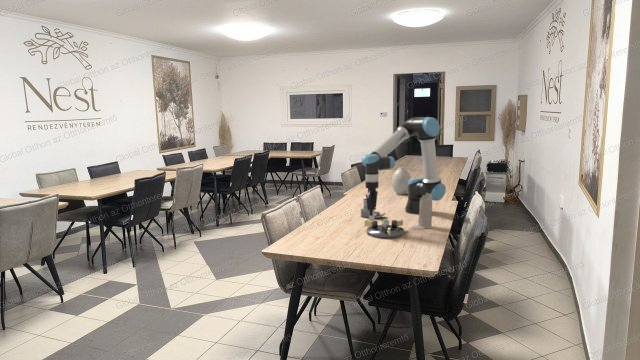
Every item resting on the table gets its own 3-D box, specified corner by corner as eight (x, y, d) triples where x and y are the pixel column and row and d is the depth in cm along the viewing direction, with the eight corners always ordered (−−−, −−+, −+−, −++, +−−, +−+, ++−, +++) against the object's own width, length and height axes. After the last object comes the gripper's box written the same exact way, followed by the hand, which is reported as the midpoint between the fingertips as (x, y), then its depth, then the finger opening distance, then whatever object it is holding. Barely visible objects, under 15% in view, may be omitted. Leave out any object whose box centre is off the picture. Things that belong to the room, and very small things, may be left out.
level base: (400, 227, 249) (400, 214, 248) (407, 238, 228) (408, 223, 227) (364, 228, 249) (364, 215, 247) (369, 239, 228) (369, 224, 227)
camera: (364, 197, 279) (385, 199, 272) (364, 214, 281) (385, 217, 274) (359, 200, 271) (381, 202, 265) (359, 217, 274) (381, 220, 267)
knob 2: (384, 231, 233) (384, 224, 233) (389, 231, 233) (389, 224, 233) (386, 235, 226) (386, 228, 225) (392, 235, 226) (392, 227, 225)
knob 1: (378, 227, 242) (378, 220, 241) (376, 229, 239) (376, 221, 238) (365, 226, 246) (365, 218, 245) (363, 227, 243) (363, 220, 242)
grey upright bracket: (407, 227, 249) (407, 194, 246) (426, 224, 254) (427, 192, 251) (414, 230, 243) (414, 196, 239) (434, 227, 248) (434, 194, 245)
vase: (388, 192, 354) (389, 166, 351) (407, 191, 356) (408, 165, 352) (394, 196, 338) (394, 168, 335) (413, 195, 340) (414, 168, 337)
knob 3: (393, 228, 239) (394, 221, 238) (390, 227, 242) (390, 219, 241) (404, 226, 243) (404, 219, 242) (400, 225, 246) (400, 217, 245)
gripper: (370, 179, 251) (370, 217, 255) (361, 182, 240) (361, 222, 244) (382, 179, 247) (381, 218, 251) (373, 183, 236) (373, 223, 240)
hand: (371, 220), depth 247 cm, fingers closed
